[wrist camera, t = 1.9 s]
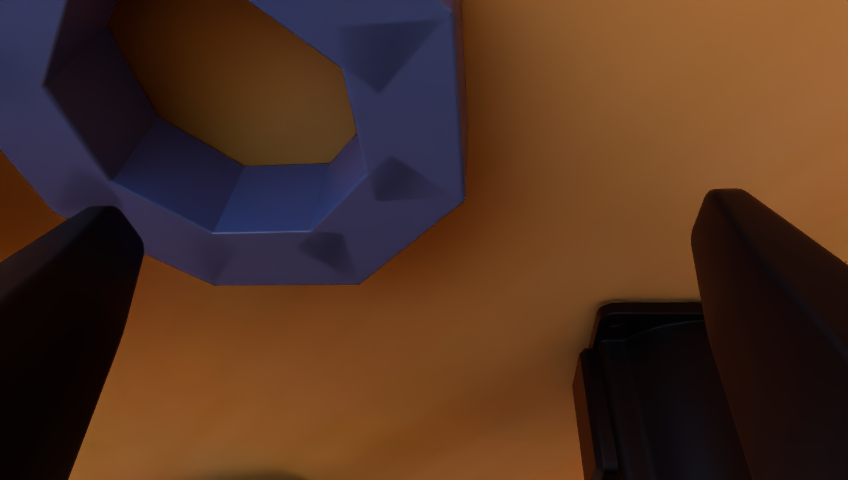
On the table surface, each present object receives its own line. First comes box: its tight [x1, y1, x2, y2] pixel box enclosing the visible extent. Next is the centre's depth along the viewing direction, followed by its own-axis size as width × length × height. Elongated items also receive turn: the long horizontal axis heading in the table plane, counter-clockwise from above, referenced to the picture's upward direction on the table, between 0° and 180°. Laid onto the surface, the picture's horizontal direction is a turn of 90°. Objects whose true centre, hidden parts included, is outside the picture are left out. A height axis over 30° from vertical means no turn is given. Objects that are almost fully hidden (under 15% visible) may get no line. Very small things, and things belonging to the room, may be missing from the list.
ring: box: [0, 0, 468, 285], centre depth 11 cm, size 10×10×2 cm
